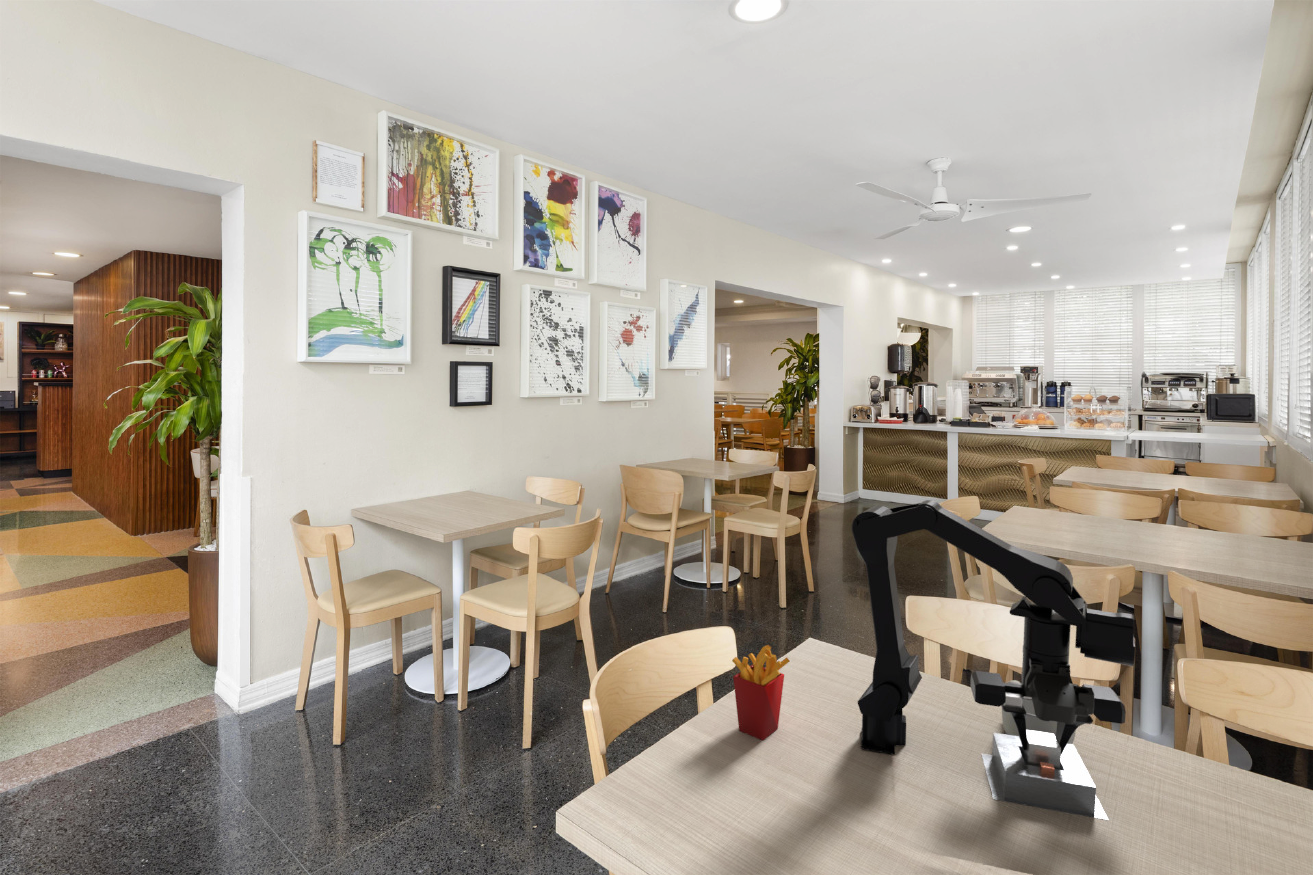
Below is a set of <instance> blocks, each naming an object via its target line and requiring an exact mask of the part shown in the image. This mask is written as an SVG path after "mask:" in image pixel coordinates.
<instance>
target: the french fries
mask: <svg viewBox="0 0 1313 875" xmlns="http://www.w3.org/2000/svg"><path fill="white" fill-rule="evenodd" d="M771 649H772V646H770V645H769V644H766V645H764V646H763V647H762V648H761V649H760V651H759V653H758V654H757V656H755V654H754V653H749V654H748V655H747V656H748V657H749V658H748V657H746V656H743V657H742V661H741V660H740V659H739V658H738V657H737V656H734V658H732V660H731V662H732V663H734V665H735V666H736V667H737V668H738V670H739V671H740V672H738V673H736V674H735V675H733V687H734V694H735V695H734V696H735V704H736V714H737V723H738V731H739V732H741V733H744V734H745V735H749V736H751V737H754V738H755V739H759V740H761V741H765V740H766V739H767V738H768V737H770V736H771V735H772V734H774V732H776V731H777V730H778V729H779V722H780V713H781V705H782V698H783V697H782V696H783V689H784V682H785V681H784V680H785V674H784V673H782V672H780V671H779V670H781V669H783V668H784V667H785V666H786V665H787V664H789V663H790V660H789V658H788V657H785V658H784V659H783V660H782V661H779V660H778V658H777V655H776V654H773V653H772V651H771ZM749 659H750V660H751V662H752V664H751V665H749ZM777 660H778V661H777ZM764 665H765V667H764Z"/></svg>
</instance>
